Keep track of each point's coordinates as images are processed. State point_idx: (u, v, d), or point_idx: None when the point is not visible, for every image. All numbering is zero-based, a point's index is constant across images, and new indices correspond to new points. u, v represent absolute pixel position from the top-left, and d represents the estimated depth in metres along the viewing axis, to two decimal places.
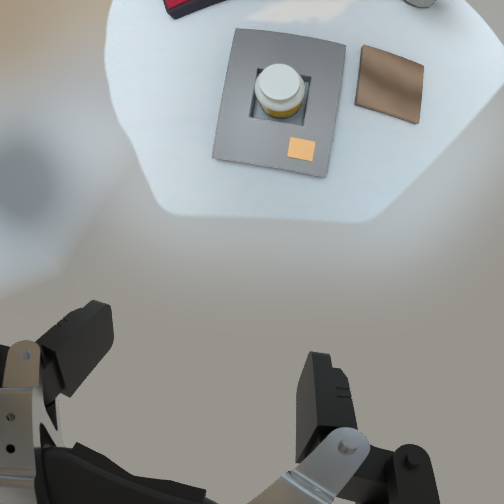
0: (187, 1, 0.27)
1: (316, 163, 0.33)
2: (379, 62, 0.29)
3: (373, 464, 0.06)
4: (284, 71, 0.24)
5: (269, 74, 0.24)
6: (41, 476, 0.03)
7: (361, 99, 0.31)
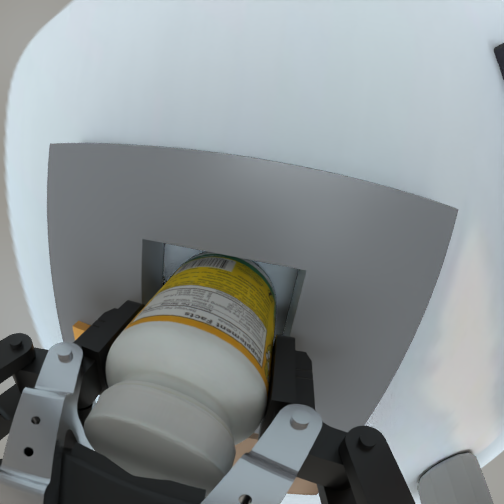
0: None
1: None
2: None
3: (327, 443, 0.06)
4: (193, 483, 0.05)
5: (168, 454, 0.05)
6: (56, 485, 0.03)
7: None
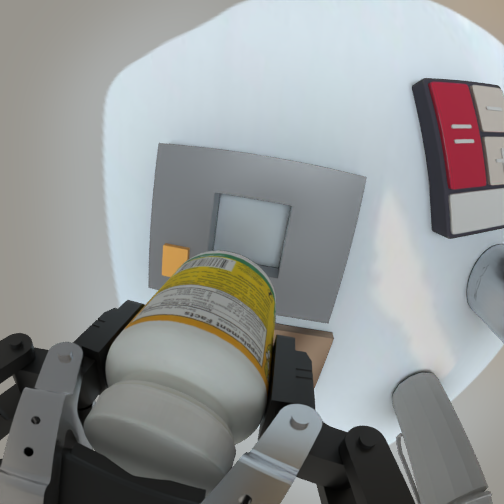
0: (434, 111, 0.19)
1: (162, 278, 0.27)
2: (308, 353, 0.30)
3: (327, 443, 0.06)
4: (193, 483, 0.05)
5: (168, 454, 0.05)
6: (56, 484, 0.03)
7: None
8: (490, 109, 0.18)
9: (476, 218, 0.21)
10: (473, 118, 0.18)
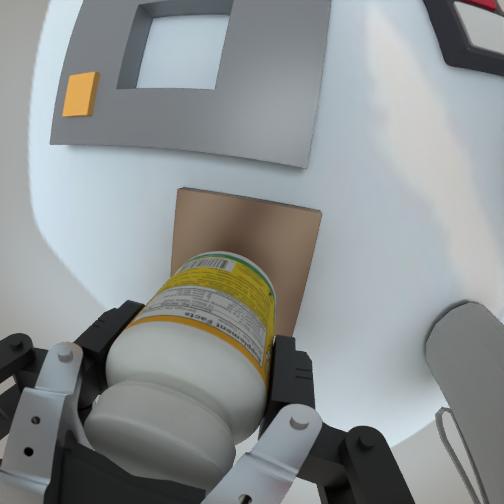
0: None
1: (64, 125, 0.16)
2: (280, 245, 0.18)
3: (327, 443, 0.06)
4: (193, 483, 0.06)
5: (168, 454, 0.05)
6: (56, 484, 0.03)
7: (186, 199, 0.18)
8: None
9: (498, 39, 0.09)
10: None
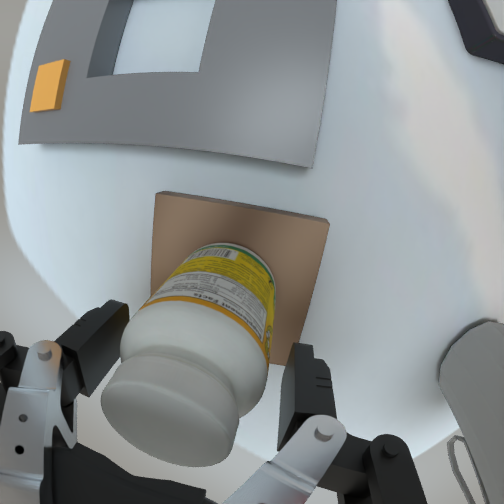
0: None
1: (33, 122, 0.13)
2: (279, 261, 0.15)
3: (351, 453, 0.06)
4: (200, 449, 0.07)
5: (179, 417, 0.06)
6: (49, 480, 0.03)
7: (166, 205, 0.15)
8: None
9: None
10: None
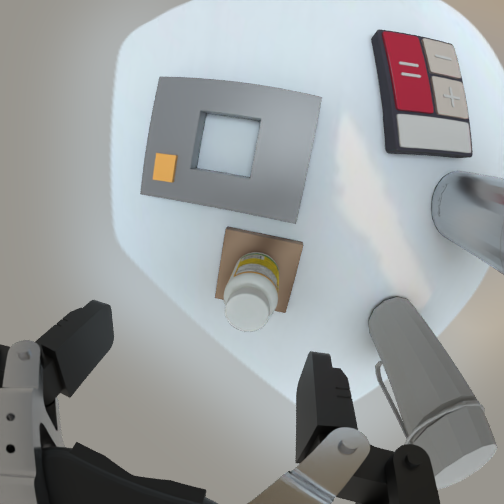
0: (385, 52, 0.24)
1: (152, 184, 0.31)
2: (280, 260, 0.34)
3: (373, 464, 0.06)
4: (258, 319, 0.26)
5: (255, 304, 0.25)
6: (42, 476, 0.03)
7: (230, 234, 0.33)
8: (439, 57, 0.22)
9: (424, 138, 0.25)
10: (421, 60, 0.23)
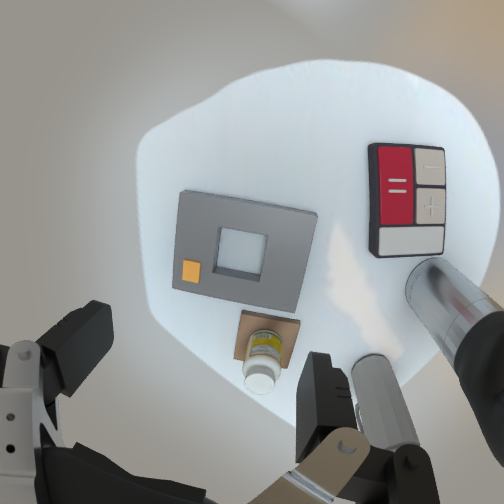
0: (378, 168, 0.33)
1: (181, 281, 0.41)
2: (283, 335, 0.43)
3: (373, 464, 0.06)
4: (267, 387, 0.35)
5: (265, 379, 0.35)
6: (42, 477, 0.03)
7: (245, 317, 0.43)
8: (427, 167, 0.31)
9: (400, 246, 0.35)
10: (409, 174, 0.32)
